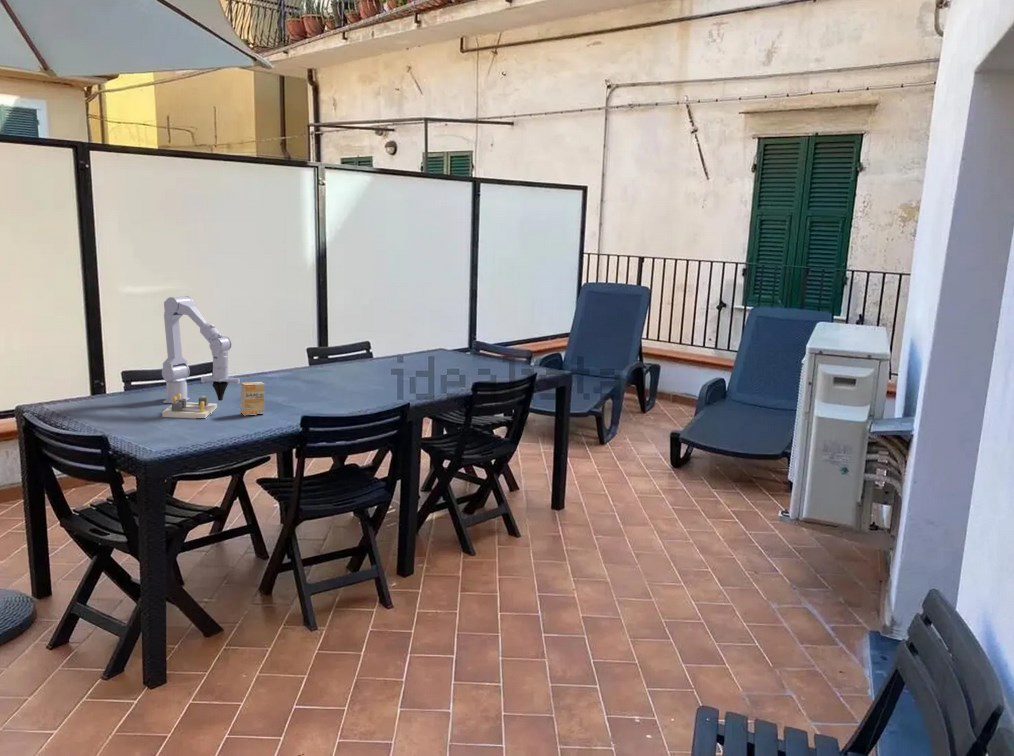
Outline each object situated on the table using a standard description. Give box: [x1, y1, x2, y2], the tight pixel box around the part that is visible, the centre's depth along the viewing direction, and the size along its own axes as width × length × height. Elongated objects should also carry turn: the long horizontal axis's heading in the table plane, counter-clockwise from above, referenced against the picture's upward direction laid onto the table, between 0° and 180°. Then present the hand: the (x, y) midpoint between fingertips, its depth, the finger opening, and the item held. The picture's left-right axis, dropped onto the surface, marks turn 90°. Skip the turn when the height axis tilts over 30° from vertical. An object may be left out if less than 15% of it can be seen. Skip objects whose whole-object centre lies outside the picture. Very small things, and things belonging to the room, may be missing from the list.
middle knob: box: [176, 398, 187, 408], centre depth 297 cm, size 3×3×3 cm
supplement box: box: [239, 381, 266, 416], centre depth 301 cm, size 8×5×13 cm, turn 126°
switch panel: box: [161, 394, 218, 419], centre depth 298 cm, size 17×16×6 cm
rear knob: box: [198, 395, 209, 406], centre depth 303 cm, size 3×3×3 cm
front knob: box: [171, 401, 182, 411], centre depth 292 cm, size 3×3×3 cm
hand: (220, 400), depth 304 cm, fingers closed
